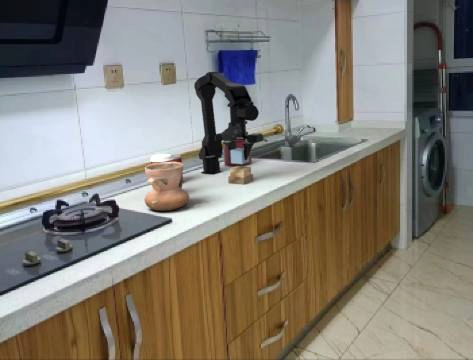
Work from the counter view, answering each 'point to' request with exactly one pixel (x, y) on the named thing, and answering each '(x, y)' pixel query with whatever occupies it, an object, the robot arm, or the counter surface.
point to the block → (238, 156)
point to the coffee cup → (161, 158)
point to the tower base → (240, 180)
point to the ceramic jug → (165, 186)
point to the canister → (228, 155)
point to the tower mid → (240, 171)
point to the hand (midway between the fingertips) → (240, 159)
